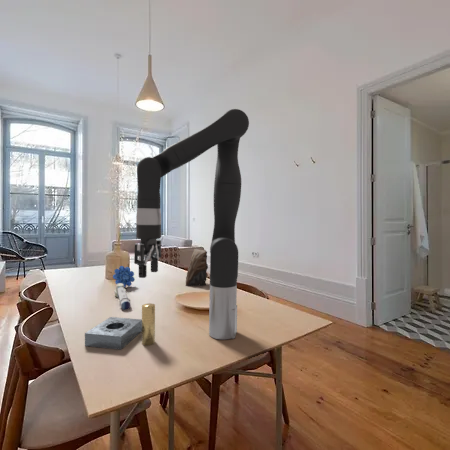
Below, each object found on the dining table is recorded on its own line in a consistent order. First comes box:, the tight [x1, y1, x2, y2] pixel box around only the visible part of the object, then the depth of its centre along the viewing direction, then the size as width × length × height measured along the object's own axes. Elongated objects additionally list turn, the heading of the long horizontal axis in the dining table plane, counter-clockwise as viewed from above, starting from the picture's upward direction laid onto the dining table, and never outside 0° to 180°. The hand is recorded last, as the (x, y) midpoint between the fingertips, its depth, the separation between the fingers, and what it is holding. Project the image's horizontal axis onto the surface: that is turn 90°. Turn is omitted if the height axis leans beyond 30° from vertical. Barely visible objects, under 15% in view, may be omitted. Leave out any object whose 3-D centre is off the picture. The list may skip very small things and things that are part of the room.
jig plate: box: [84, 316, 142, 351], centre depth 93 cm, size 12×14×4 cm
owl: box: [185, 248, 209, 287], centre depth 166 cm, size 13×13×20 cm
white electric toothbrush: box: [113, 283, 131, 311], centre depth 132 cm, size 5×7×25 cm
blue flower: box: [112, 265, 135, 288], centre depth 155 cm, size 12×7×12 cm, turn 125°
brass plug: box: [141, 302, 156, 347], centre depth 90 cm, size 4×4×12 cm
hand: (148, 274), depth 90 cm, fingers open, 8 cm apart
